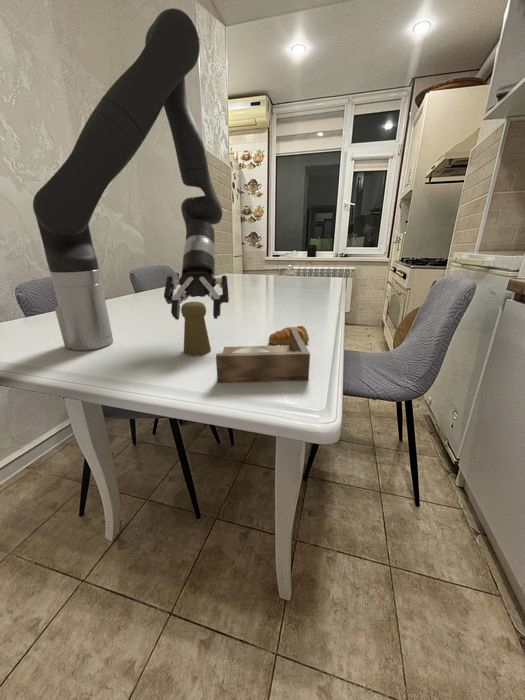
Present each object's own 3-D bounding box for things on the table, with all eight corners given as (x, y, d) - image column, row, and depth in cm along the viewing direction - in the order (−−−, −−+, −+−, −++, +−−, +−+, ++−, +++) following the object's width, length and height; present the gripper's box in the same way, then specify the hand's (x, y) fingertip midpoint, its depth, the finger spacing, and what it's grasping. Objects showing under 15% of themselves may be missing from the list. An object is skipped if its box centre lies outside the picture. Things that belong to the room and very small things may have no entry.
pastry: (275, 349, 66) (275, 333, 65) (264, 341, 72) (264, 326, 71) (311, 344, 69) (312, 329, 68) (297, 336, 75) (298, 322, 74)
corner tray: (217, 382, 51) (215, 356, 49) (224, 350, 65) (223, 328, 64) (308, 380, 51) (310, 353, 49) (294, 348, 66) (295, 327, 64)
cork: (214, 346, 68) (210, 299, 64) (206, 356, 62) (202, 305, 58) (188, 345, 68) (184, 299, 64) (179, 355, 63) (173, 305, 59)
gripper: (165, 248, 67) (158, 309, 60) (227, 248, 67) (227, 307, 61) (173, 270, 73) (167, 326, 67) (229, 269, 74) (229, 325, 68)
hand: (195, 317), depth 64 cm, fingers open, 8 cm apart
